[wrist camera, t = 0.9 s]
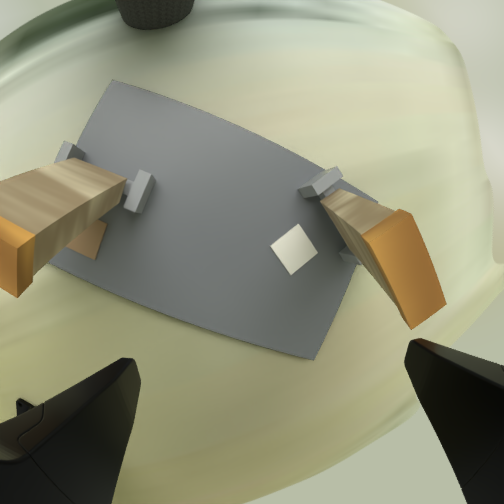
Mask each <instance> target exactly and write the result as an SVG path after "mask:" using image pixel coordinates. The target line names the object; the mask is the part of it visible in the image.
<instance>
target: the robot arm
mask: <svg viewBox="0 0 504 504" xmlns="http://www.w3.org/2000/svg"><path fill="white" fill-rule="evenodd" d="M404 364H405V368H406V370H407V372H408V375H409V377H410V380H411V382H412V385H413V387H414V389H415V392H416V394H417V397H418V399H419V401H420V403H421V405H422V407H423V409H424V411H425V413H426V415H427V416H428V418H429V420H430V422H431V424H432V426H433V428H434V430H435V432H436V434H437V436H438V438H439V440H440V442H441V445H442V447H443V449H444V451H445V453H446V455H447V457H448V460H449V462H450V464H451V466H452V468H453V470H454V473H455V475H456V477H457V480H458V482H459V484H460V487H461V488H462V492H463V495H464V497H465V500H466V502H467V504H504V366H503V365H499V364H497V363H494V362H491V361H487V360H485V359H481V358H478V357H475V356H472V355H469V354H466V353H463V352H460V351H457V350H454V349H451V348H448V347H445V346H443V345H440V344H437V343H434V342H431V341H428V340H425V339H422V338H418V339H414V340H411V341H410V342H409V345H408V349H407V352H406V356H405V360H404ZM140 387H141V379H140V375H139V372H138V368H137V365H136V362H135V360H134V359H133V358H120V359H119V360H117V361H115V362H114V363H112V364H110V365H108V366H107V367H105V368H103V369H102V370H100V371H98V372H96V373H95V374H93V375H91V376H90V377H88V378H86V379H84V380H83V381H81V382H79V383H77V384H76V385H74V386H72V387H70V388H69V389H67V390H65V391H63V392H61V393H60V394H58V395H56V396H54V397H53V398H51V399H49V400H47V401H45V402H44V403H42V404H40V405H38V406H36V407H34V406H32V405H31V404H29V403H27V402H26V401H24V400H22V399H20V398H19V399H18V400H17V401H16V409H17V416H16V417H14V418H12V419H9V420H7V421H5V422H2V423H0V504H111V503H112V499H113V495H114V491H115V487H116V483H117V480H118V476H119V472H120V469H121V465H122V461H123V458H124V454H125V451H126V447H127V444H128V441H129V437H130V434H131V431H132V427H133V424H134V419H135V413H136V408H137V402H138V397H139V392H140Z"/></svg>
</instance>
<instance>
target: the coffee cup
mask: <svg viewBox="0 0 504 504" xmlns="http://www.w3.org/2000/svg"><path fill="white" fill-rule="evenodd" d="M115 1H116V4H117V6H118V9H119V11H120V14H121V16H122V18H123V20H124V22H125V23H126V24H128V25H129V26H131V27H134V28H138V29H158V28H163V27H166V26H169V25H172V24H174V23H177V22H178V21H180V20H182V19H183V18H184V17H186V16H187V15H188V14H189V13H190V11H191V10H192V7H193V4H194V0H115Z"/></svg>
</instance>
